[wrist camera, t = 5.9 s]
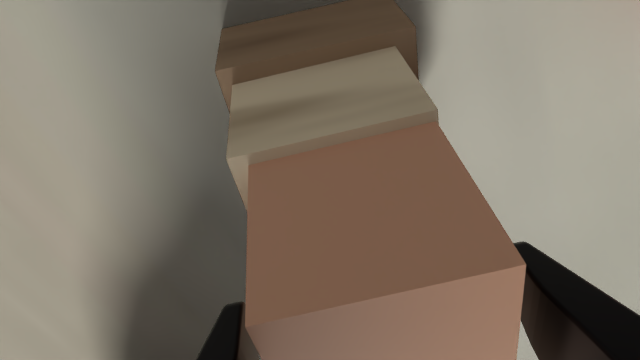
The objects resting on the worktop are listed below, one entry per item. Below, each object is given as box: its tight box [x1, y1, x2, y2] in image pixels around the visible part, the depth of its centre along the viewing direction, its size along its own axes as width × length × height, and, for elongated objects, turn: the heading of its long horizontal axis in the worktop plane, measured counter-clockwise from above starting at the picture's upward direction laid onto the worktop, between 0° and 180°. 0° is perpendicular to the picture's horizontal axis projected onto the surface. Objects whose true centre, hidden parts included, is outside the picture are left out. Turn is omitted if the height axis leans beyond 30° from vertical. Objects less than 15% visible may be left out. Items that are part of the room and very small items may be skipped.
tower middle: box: [226, 46, 439, 211], centre depth 14 cm, size 5×5×4 cm
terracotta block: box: [245, 121, 526, 360], centre depth 10 cm, size 4×4×4 cm
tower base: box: [215, 0, 419, 113], centre depth 17 cm, size 6×6×4 cm
